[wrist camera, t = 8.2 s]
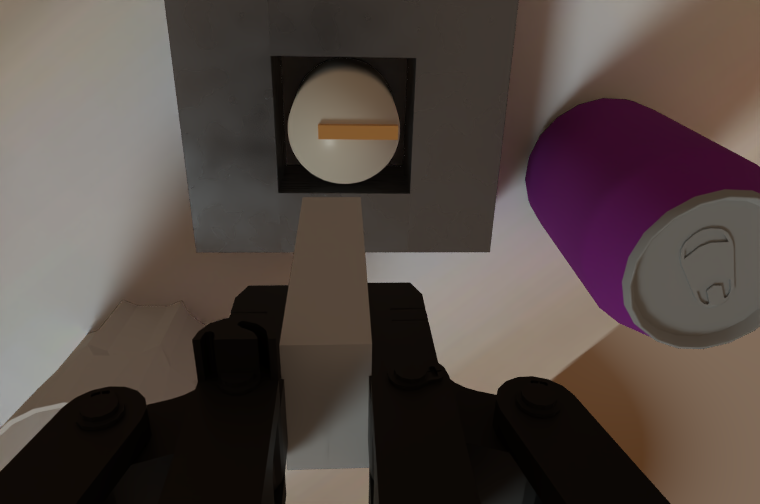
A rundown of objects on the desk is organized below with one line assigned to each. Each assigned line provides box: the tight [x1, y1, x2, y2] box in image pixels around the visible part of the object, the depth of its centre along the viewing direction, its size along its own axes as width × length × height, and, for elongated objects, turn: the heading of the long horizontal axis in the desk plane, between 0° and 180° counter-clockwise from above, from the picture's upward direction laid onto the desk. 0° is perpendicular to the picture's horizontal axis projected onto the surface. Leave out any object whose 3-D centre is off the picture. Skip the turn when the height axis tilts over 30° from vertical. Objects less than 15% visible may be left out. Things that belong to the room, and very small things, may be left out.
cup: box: [0, 300, 205, 471], centre depth 32 cm, size 10×10×10 cm
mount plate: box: [164, 0, 519, 252], centre depth 26 cm, size 14×22×4 cm, turn 179°
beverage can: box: [525, 98, 760, 349], centre depth 27 cm, size 8×8×12 cm
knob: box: [288, 58, 400, 184], centre depth 28 cm, size 5×5×4 cm
